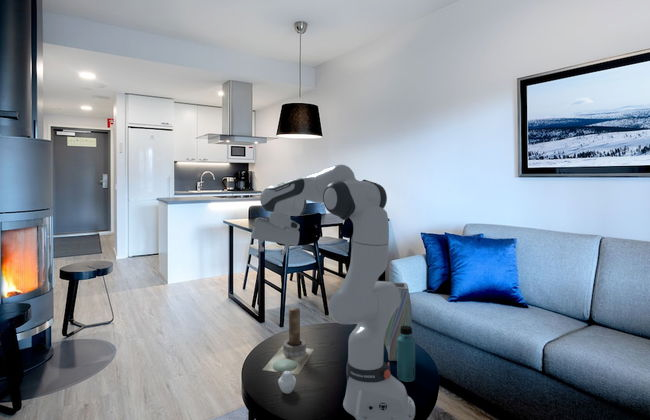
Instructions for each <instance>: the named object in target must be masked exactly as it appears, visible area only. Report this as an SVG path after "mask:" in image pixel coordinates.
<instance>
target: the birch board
mask: <svg viewBox="0 0 650 420" xmlns="http://www.w3.org/2000/svg"><path fill="white" fill-rule="evenodd" d="M314 350H315V349H314V348H309V347H307V342H306V340H304V339H302V338H300V345H298V346H290V345H289V338H288V339H286V340H284V342H283V343H282V346H281V347H280V348H279V350H278V351H277V352H276V353H275V354H274V355H273V357H272V358H271V359H270V360H269V361H268V362H267V364H266V365H265V366H264V367H263V368H262V371H267V372H268V371H269V372H275V373H283V372H281V371H276V370H274V369H273V363H274V362H276V361H278V360H282V359H290V360H293V361H295V362H296V368H295V369H293V370H291V371H290V372H292V375H299V374H300V373H301V371H302V369H303V368H304V366H305V364H306V363H307V362H308V360H309V358H310V356H311V355H312V354H313V351H314Z"/></svg>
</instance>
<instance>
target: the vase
mask: <svg viewBox="0 0 650 420" xmlns="http://www.w3.org/2000/svg"><path fill="white" fill-rule="evenodd" d="M390 282H391V283H393V284H395V285H396V287H397V288H398V290H399V292H400V296H401V302H400V305H399V307H398V308H397V309H396V311H395V312H394V314H393V315H392V317H391V319H390V322H389V325H388V327H387V331H386V334H385V339H384V347H385V348H386V351H387V355H388V356H387V357H388V361H396V362H397V338H398V337H399V336H400V335H402V334H401V333H400V329H401V326H410V327H411V328H412V319H413V318H412V316H413V312H412V311H413V310H412V309H413V308H412V301H411V297H410V289H409V286H408V283H406V282H395V281H394V282H393V281H390Z"/></svg>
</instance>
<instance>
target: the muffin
mask: <svg viewBox="0 0 650 420" xmlns="http://www.w3.org/2000/svg"><path fill="white" fill-rule="evenodd" d="M281 373H282V372H281ZM279 377H280V378H278V380H277V383H278V387H279V388H280V390H281V392H282V393H284V394H291V393H292V392H293V391H294V388H295V386H296V383H297V379H296V377H295V375H294V374H292V372H290V371H285V372H283V373H282V374H281V376H279Z"/></svg>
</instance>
